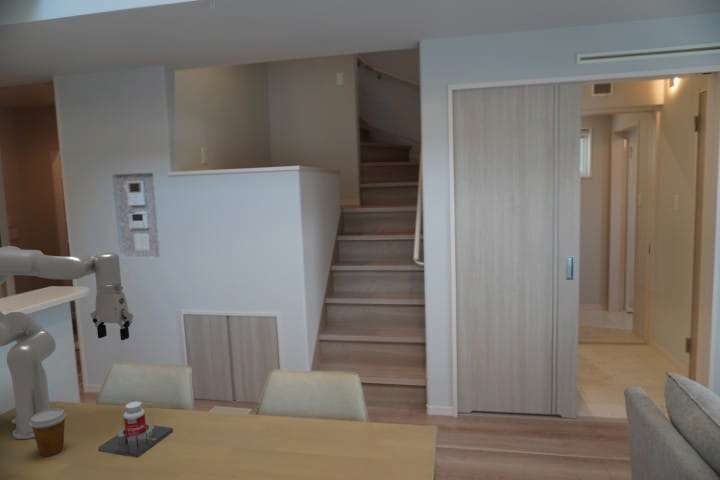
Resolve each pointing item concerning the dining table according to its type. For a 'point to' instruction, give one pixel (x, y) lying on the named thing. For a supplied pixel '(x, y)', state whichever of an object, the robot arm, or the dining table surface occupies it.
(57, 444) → the disposable coffee cup
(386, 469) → the dining table surface
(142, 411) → the pill bottle
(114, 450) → the socket plate
